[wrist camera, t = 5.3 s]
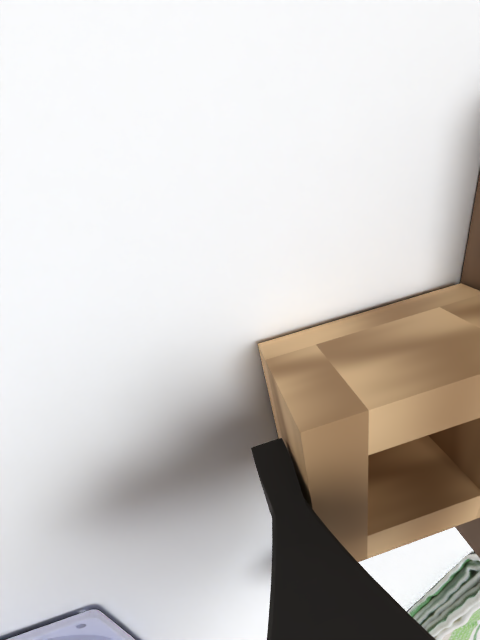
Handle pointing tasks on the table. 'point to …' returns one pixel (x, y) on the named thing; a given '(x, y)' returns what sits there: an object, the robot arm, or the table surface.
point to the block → (384, 418)
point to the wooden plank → (476, 275)
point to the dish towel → (453, 603)
